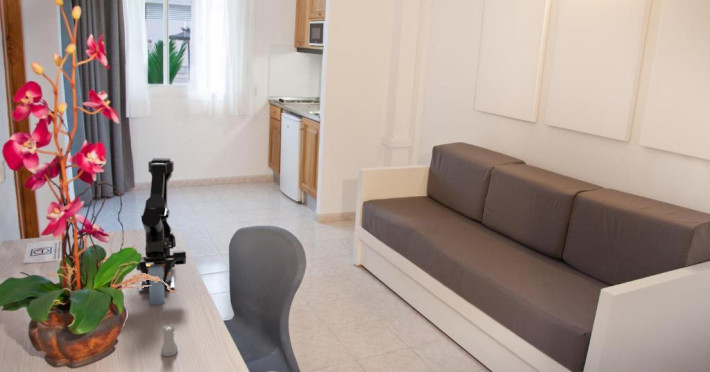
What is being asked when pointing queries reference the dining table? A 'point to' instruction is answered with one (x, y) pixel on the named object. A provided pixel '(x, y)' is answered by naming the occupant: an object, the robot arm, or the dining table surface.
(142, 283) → the open square bin
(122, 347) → the dining table surface
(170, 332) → the rook chess piece
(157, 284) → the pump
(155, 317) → the dining table surface
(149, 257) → the robot arm
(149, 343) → the dining table surface
